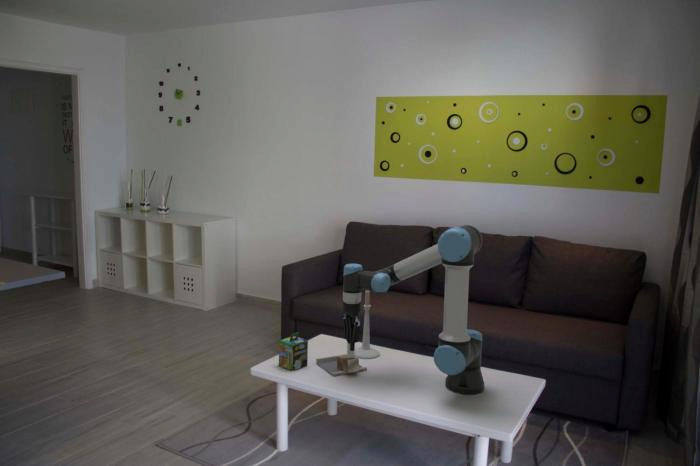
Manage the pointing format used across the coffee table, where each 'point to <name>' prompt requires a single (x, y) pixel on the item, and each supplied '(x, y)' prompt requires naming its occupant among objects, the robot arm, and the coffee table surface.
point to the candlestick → (366, 335)
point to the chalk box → (293, 352)
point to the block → (347, 363)
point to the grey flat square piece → (334, 365)
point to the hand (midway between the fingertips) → (350, 357)
